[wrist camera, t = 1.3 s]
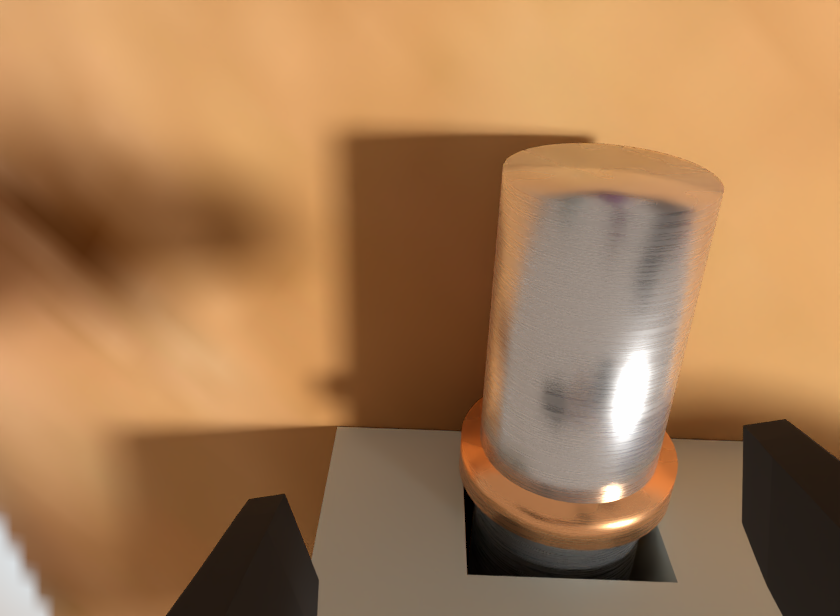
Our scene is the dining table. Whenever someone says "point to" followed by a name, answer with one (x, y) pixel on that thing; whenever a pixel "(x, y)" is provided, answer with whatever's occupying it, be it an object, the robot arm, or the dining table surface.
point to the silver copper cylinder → (584, 357)
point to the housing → (507, 595)
